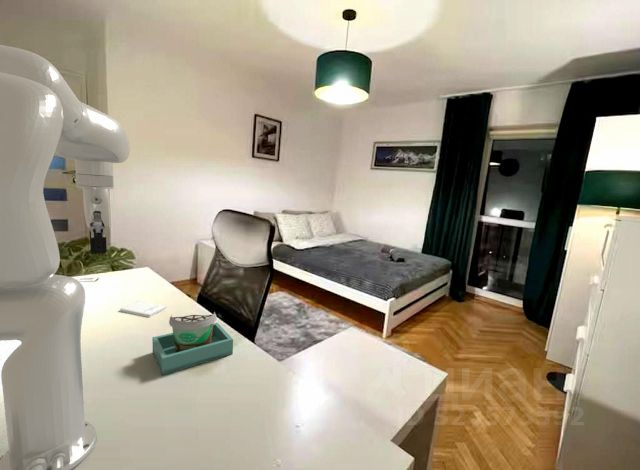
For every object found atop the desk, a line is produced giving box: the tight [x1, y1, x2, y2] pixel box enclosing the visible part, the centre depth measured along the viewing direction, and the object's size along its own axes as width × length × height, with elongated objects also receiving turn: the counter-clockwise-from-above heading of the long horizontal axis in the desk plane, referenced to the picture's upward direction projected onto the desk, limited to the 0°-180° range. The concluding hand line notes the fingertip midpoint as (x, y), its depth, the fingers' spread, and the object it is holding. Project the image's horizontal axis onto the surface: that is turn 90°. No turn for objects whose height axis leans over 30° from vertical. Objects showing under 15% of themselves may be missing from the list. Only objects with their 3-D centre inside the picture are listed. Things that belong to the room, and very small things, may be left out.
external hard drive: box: [119, 300, 168, 318], centre depth 109 cm, size 2×8×12 cm
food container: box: [168, 311, 217, 352], centre depth 82 cm, size 12×6×10 cm, turn 108°
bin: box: [152, 322, 234, 376], centre depth 84 cm, size 12×18×4 cm, turn 129°
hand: (98, 249), depth 78 cm, fingers open, 9 cm apart
